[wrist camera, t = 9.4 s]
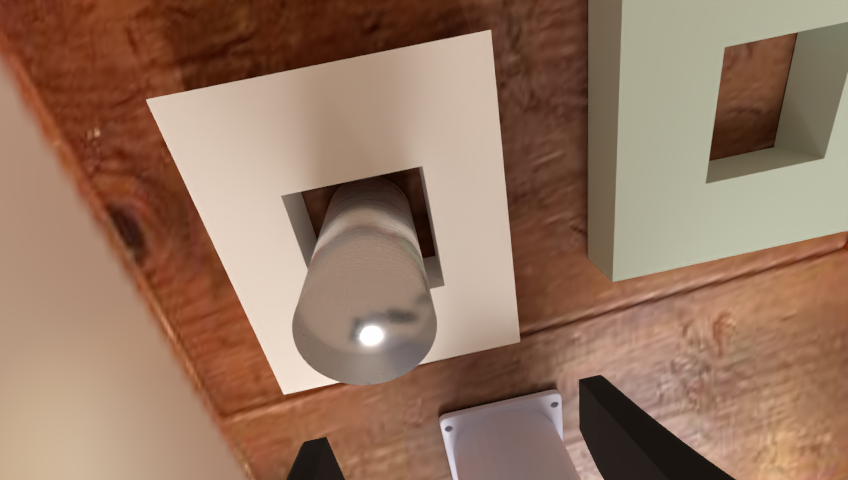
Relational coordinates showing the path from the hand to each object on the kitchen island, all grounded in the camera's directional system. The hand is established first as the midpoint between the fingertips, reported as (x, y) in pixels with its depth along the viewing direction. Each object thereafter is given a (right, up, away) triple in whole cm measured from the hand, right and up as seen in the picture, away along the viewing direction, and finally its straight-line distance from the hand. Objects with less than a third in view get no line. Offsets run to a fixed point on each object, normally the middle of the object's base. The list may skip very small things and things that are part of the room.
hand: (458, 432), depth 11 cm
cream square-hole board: (-4, +7, +8) cm, 11 cm away
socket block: (+14, +12, +8) cm, 20 cm away
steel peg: (-4, +7, +8) cm, 11 cm away
